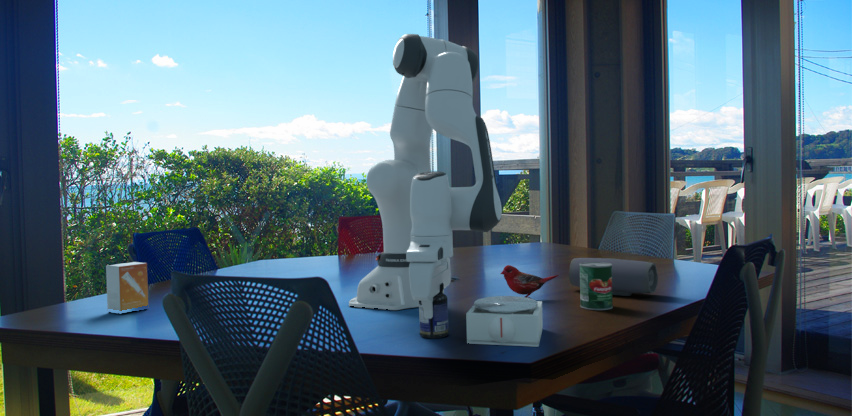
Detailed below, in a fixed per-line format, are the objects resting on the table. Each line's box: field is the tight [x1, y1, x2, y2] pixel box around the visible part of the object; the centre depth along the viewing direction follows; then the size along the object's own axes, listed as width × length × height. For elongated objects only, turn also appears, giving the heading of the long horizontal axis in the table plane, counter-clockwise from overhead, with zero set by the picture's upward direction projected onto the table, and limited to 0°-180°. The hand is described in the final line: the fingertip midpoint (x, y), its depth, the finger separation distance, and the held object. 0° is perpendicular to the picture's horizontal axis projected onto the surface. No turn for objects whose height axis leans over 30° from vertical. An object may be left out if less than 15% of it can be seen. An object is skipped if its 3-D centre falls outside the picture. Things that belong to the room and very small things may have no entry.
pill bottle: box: [418, 283, 449, 339], centre depth 117 cm, size 6×6×11 cm
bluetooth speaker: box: [568, 257, 659, 297], centre depth 157 cm, size 23×9×10 cm, turn 50°
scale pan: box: [473, 295, 538, 314], centre depth 115 cm, size 13×13×4 cm
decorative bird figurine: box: [500, 264, 559, 299], centre depth 151 cm, size 3×18×10 cm, turn 107°
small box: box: [105, 261, 149, 311], centre depth 151 cm, size 8×6×13 cm
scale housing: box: [465, 300, 544, 348], centre depth 115 cm, size 14×15×6 cm
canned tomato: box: [579, 262, 614, 311], centre depth 140 cm, size 8×8×11 cm
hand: (433, 313), depth 117 cm, fingers closed on pill bottle, 6 cm apart
